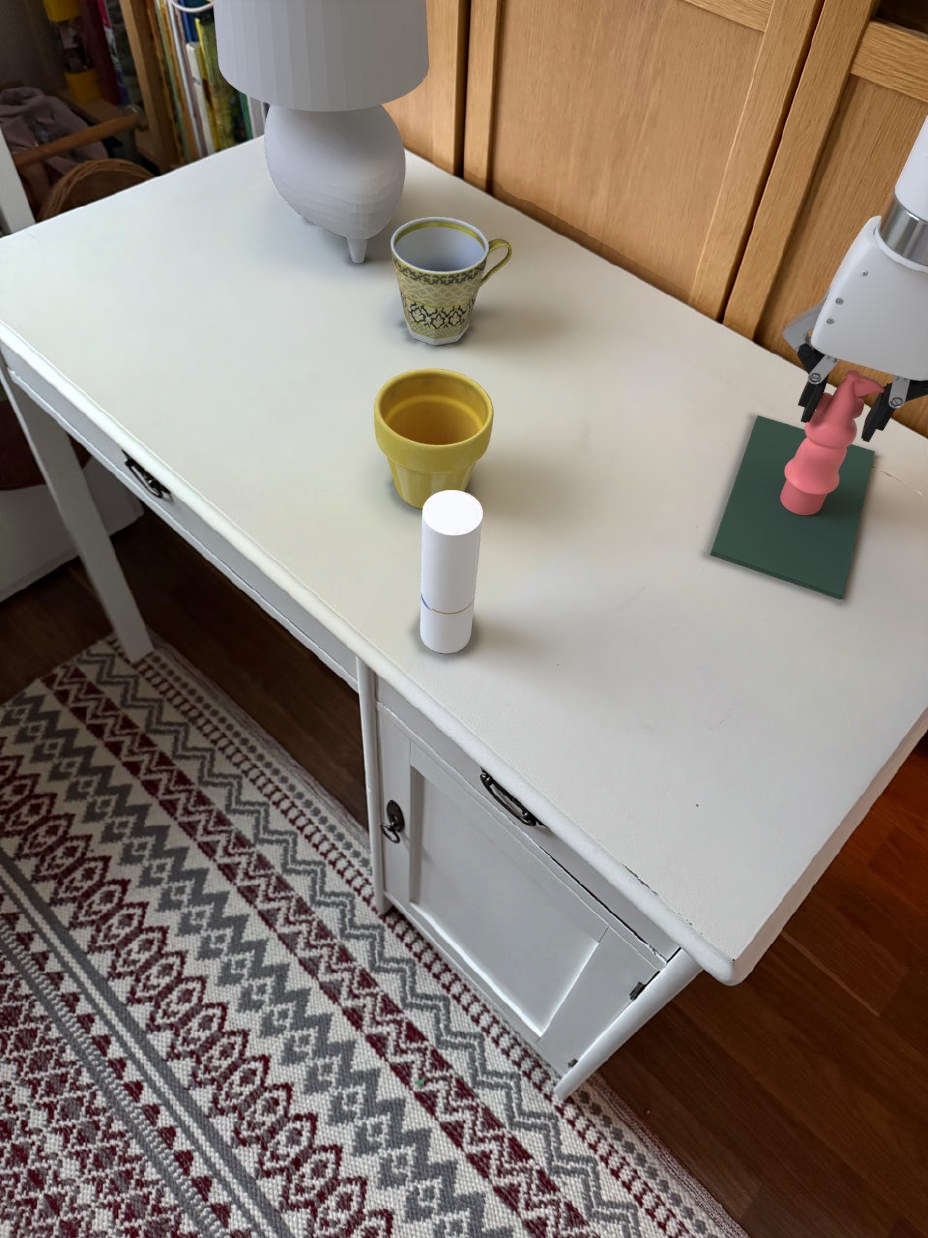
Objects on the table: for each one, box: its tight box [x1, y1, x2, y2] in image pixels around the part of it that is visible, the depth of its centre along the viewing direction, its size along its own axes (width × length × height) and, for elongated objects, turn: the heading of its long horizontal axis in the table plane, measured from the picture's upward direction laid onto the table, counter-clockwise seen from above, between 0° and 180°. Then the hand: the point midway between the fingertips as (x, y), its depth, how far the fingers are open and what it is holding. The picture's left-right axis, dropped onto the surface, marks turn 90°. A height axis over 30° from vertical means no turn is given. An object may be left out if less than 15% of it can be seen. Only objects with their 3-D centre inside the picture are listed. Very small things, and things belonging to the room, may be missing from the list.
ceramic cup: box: [389, 216, 513, 347], centre depth 96 cm, size 13×10×10 cm
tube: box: [419, 490, 484, 654], centre depth 70 cm, size 4×4×15 cm
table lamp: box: [212, 0, 430, 264], centre depth 93 cm, size 23×22×40 cm
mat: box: [709, 415, 876, 600], centre depth 87 cm, size 12×20×1 cm, turn 157°
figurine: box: [780, 369, 885, 515], centre depth 80 cm, size 5×5×15 cm
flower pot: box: [373, 367, 495, 510], centre depth 82 cm, size 10×10×10 cm
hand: (837, 420), depth 79 cm, fingers closed on figurine, 4 cm apart
